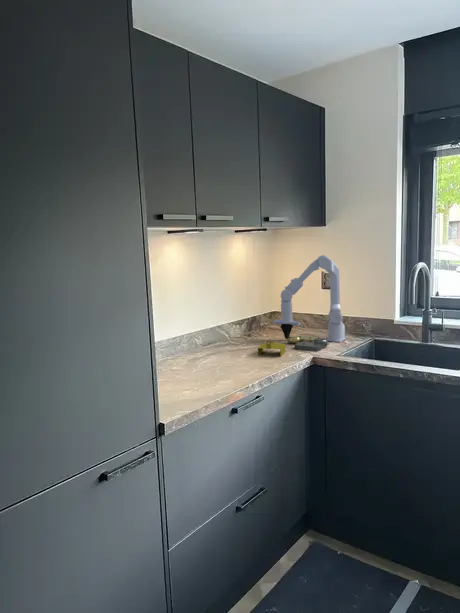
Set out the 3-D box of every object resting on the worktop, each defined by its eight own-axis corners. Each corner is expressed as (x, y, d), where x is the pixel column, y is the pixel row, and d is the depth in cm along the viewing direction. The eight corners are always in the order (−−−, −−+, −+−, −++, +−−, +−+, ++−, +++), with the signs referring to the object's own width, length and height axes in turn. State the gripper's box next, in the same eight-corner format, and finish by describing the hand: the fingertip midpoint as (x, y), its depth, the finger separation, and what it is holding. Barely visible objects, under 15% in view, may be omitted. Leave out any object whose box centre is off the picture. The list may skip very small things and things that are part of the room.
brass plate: (285, 343, 230) (285, 337, 230) (295, 339, 240) (295, 333, 239) (309, 345, 223) (309, 339, 223) (319, 341, 233) (319, 335, 232)
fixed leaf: (294, 348, 218) (294, 341, 218) (304, 344, 228) (304, 337, 228) (320, 351, 211) (320, 344, 211) (329, 346, 221) (329, 339, 220)
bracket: (291, 334, 216) (285, 341, 202) (292, 351, 217) (286, 358, 203) (259, 333, 221) (251, 340, 206) (260, 349, 222) (252, 357, 207)
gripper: (270, 313, 237) (271, 338, 239) (295, 314, 229) (296, 341, 231) (277, 311, 243) (277, 336, 245) (302, 312, 235) (302, 338, 237)
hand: (287, 338), depth 238 cm, fingers closed
